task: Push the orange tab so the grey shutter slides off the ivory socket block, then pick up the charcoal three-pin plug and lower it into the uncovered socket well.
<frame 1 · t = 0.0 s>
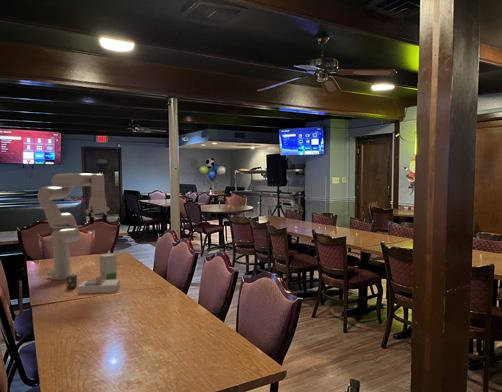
hand: (98, 222, 231), 37 cm above the table, tool pointing down, fingers open, 9 cm apart
skincare box: (108, 279, 244), on the table
plug: (72, 287, 225), on the table
shutter: (94, 279, 220), point 6 cm above the table, slide at 0.0 cm
socket block: (99, 289, 221), on the table
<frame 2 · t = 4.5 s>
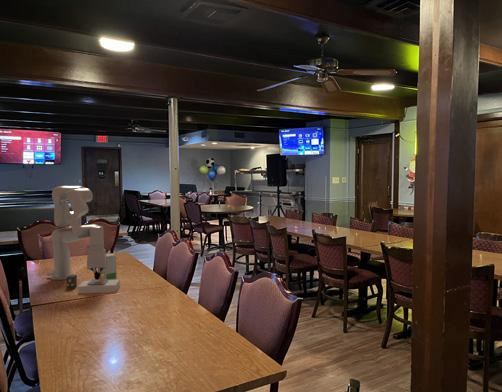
hand: (97, 279, 221), 6 cm above the table, tool pointing down, fingers closed
shutter: (98, 279, 221), point 6 cm above the table, slide at 1.9 cm, touching gripper
everything else where it was.
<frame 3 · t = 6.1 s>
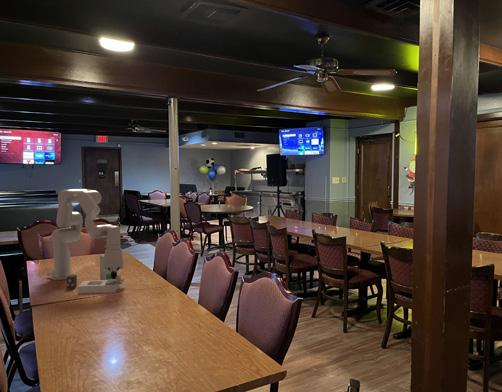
hand: (114, 278, 222), 6 cm above the table, tool pointing down, fingers closed
shutter: (115, 278, 222), point 6 cm above the table, slide at 11.1 cm, touching gripper
everything else where it was.
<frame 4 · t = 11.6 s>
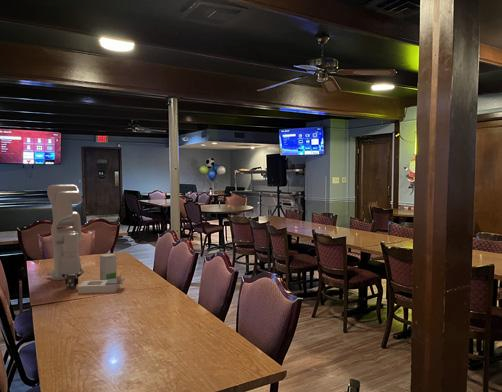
hand: (71, 284, 225), 2 cm above the table, tool pointing down, fingers closed on plug, 4 cm apart
plug: (71, 287, 225), on the table, touching gripper
shutter: (115, 278, 222), point 6 cm above the table, slide at 11.3 cm
everything else where it was.
when the fingers open (5 cm above the table, at t = 16.5 s): plug drops 3 cm, resting in socket block.
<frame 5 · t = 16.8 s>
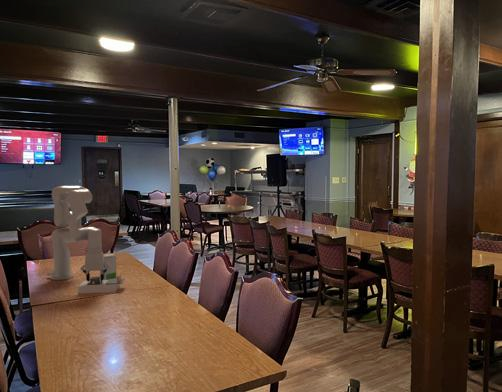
hand: (95, 280, 221), 5 cm above the table, tool pointing down, fingers open, 6 cm apart
plug: (95, 289, 221), resting in socket block
everything else where it was.
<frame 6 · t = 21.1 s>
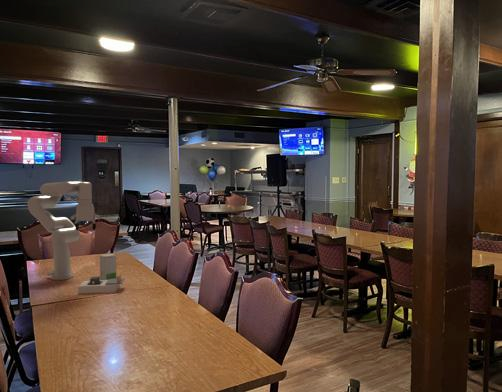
hand: (85, 229, 237), 32 cm above the table, tool pointing down, fingers open, 9 cm apart
nothing on the table moved.
at the end: plug 0.3 cm from the target spot on the socket block, point 0.0 cm above the socket block's base; shutter slide at 11.3 cm; the gripper is holding nothing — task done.
